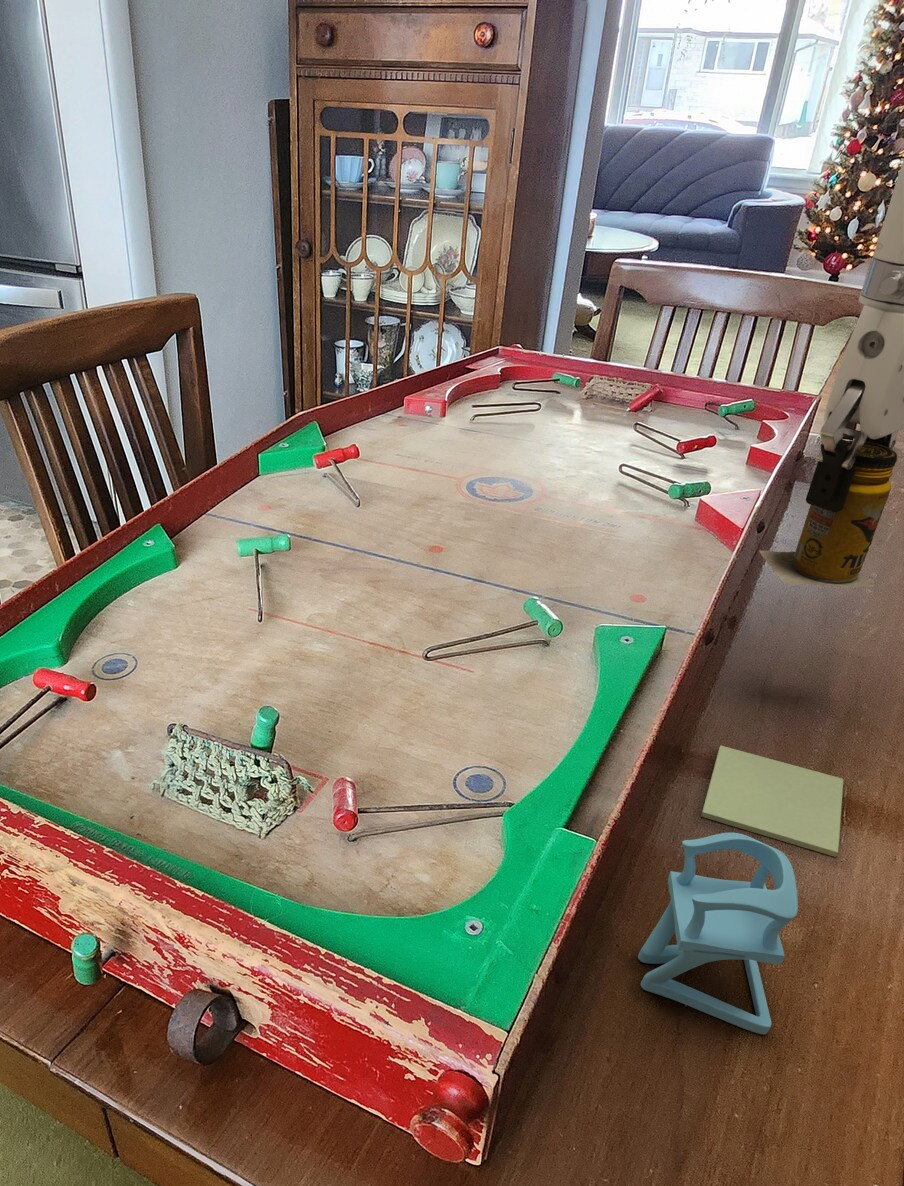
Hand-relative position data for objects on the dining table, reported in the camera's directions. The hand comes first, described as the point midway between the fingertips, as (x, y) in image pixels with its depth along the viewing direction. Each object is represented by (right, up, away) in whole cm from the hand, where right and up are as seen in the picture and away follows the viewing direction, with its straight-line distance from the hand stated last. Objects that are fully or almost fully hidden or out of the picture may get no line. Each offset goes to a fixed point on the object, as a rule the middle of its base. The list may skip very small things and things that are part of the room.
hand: (841, 497), depth 84 cm
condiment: (-1, -6, +4) cm, 7 cm away
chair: (-20, -39, -19) cm, 48 cm away
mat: (-7, -28, -2) cm, 29 cm away
